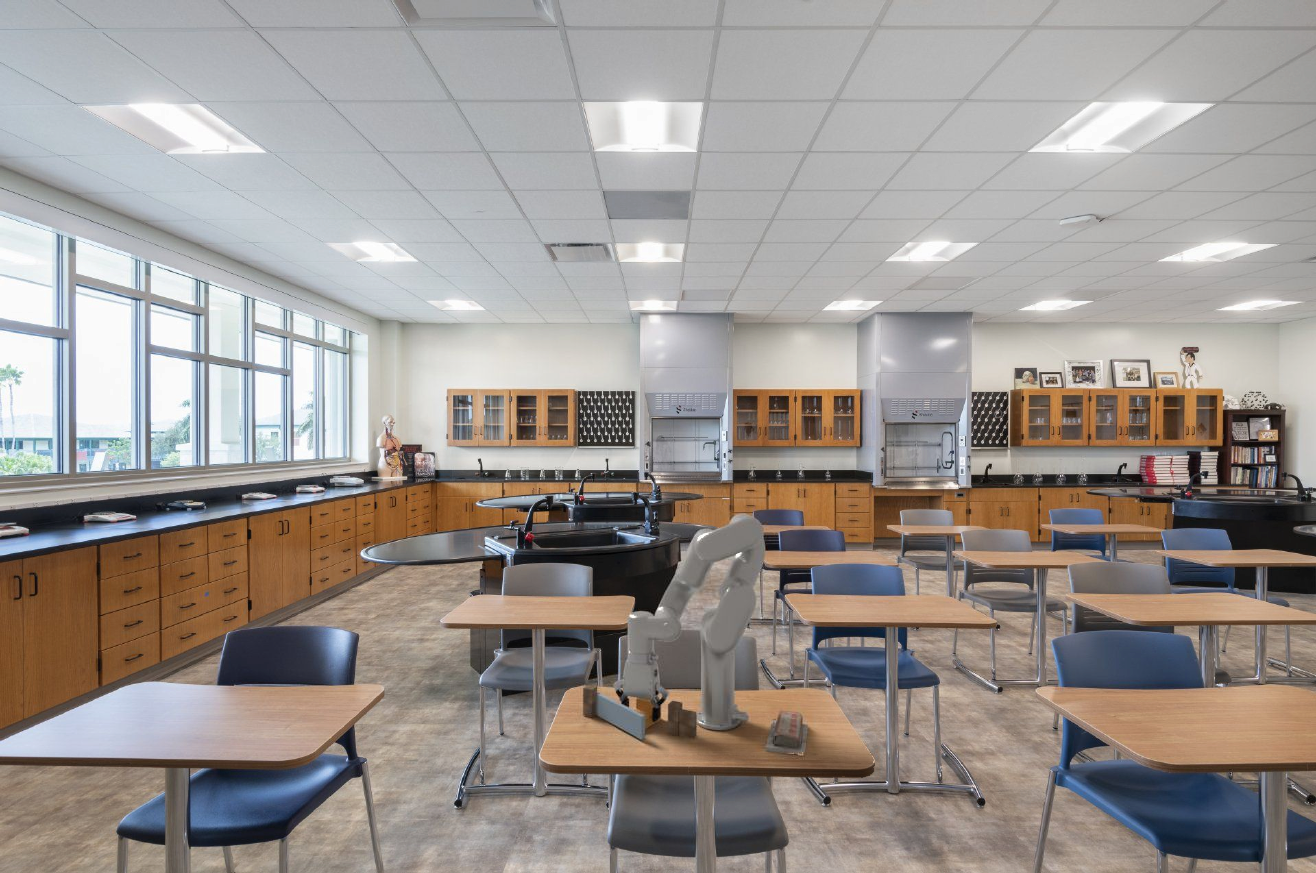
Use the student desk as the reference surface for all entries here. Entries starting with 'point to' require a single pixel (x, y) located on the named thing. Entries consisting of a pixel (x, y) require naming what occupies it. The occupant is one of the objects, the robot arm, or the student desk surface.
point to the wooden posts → (678, 718)
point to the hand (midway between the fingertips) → (640, 717)
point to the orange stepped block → (646, 710)
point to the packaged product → (787, 733)
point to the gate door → (620, 715)
